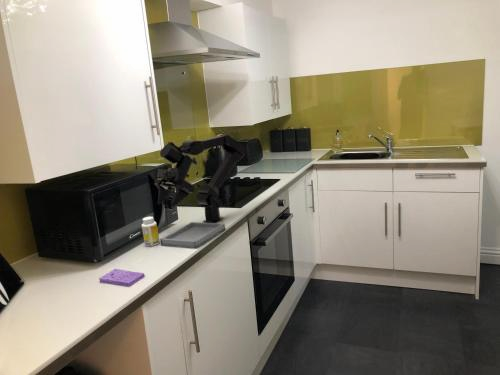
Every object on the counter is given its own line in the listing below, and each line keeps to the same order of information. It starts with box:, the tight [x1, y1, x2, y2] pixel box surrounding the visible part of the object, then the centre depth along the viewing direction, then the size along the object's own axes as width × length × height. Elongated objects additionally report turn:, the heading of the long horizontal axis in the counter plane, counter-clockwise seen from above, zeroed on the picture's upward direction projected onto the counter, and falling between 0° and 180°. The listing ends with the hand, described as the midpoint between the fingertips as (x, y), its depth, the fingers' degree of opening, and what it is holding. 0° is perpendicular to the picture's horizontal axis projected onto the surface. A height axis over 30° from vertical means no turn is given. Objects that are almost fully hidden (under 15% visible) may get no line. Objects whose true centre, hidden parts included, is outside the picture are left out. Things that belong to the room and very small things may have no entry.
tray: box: [159, 221, 226, 249], centre depth 158 cm, size 20×16×2 cm
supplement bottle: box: [141, 216, 161, 247], centre depth 155 cm, size 6×6×10 cm
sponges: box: [98, 268, 146, 287], centre depth 127 cm, size 7×13×2 cm, turn 63°
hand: (165, 205), depth 158 cm, fingers open, 9 cm apart
